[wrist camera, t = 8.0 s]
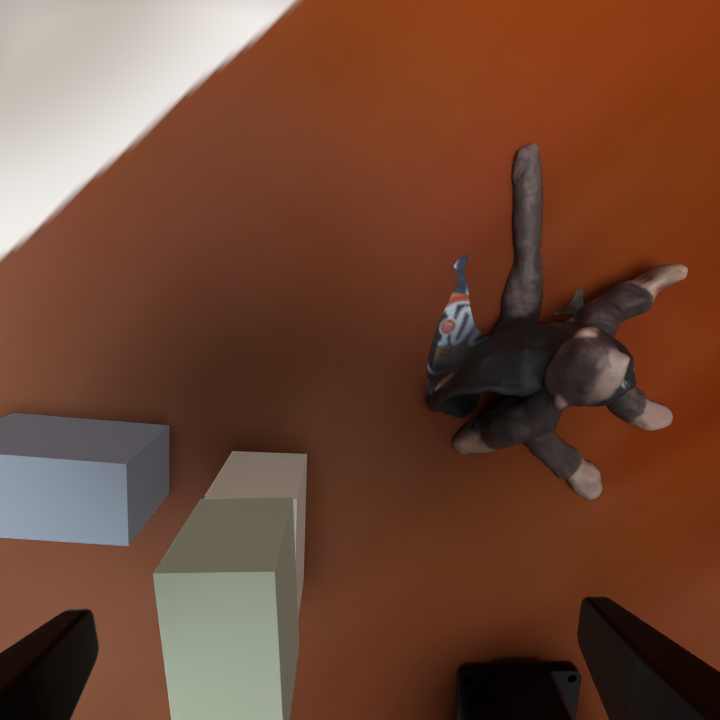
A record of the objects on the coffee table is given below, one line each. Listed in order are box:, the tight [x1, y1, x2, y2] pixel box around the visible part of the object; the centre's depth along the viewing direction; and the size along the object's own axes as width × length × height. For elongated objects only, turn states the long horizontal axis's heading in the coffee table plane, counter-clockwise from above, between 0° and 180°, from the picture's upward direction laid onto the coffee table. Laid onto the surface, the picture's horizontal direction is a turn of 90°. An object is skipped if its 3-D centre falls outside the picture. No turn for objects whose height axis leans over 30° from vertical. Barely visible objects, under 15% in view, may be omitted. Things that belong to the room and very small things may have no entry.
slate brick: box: [0, 413, 169, 546], centre depth 18 cm, size 7×4×4 cm, turn 84°
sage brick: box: [153, 497, 299, 720], centre depth 15 cm, size 7×4×4 cm, turn 0°
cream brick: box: [204, 451, 307, 617], centre depth 19 cm, size 7×4×4 cm, turn 177°
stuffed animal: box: [426, 143, 688, 501], centre depth 19 cm, size 12×10×12 cm
